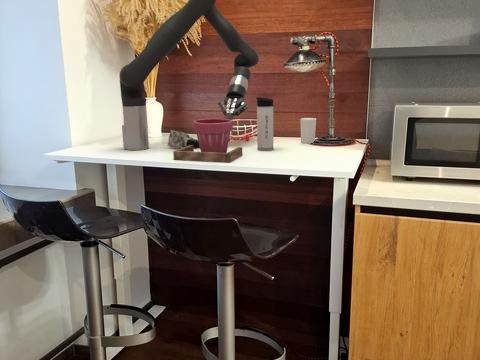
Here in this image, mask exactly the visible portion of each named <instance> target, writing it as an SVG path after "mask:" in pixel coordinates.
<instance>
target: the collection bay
mask: <svg viewBox="0 0 480 360" xmlns="http://www.w3.org/2000/svg"><path fill="white" fill-rule="evenodd" d="M194 149H195V148H194V146H193V145H189V146H186V147H182V148H181V149H175V150H174V151H173V152H172V155H173V160H174V161H191V162H193V161H194V162H210V163H211V162H212V163H225V164H227V163H232V162H233V161H235V160H237V159H239V158H241V157H243V147H242V146H238V147H236V148H233V149H232V150H230V151H227V153H216V152H201V151H194Z"/></svg>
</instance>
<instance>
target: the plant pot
mask: <svg viewBox="0 0 480 360" xmlns="http://www.w3.org/2000/svg"><path fill="white" fill-rule="evenodd" d="M233 128H234V127H233V120H230V119H225V118H201V119H196V120H194V121H193V131H194V133H196V139H197V140H198V142H199V146H200V148H199V150H200V152H216V153H228V148H229V143H230V137H231V132H232V131H233Z"/></svg>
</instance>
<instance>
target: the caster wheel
mask: <svg viewBox="0 0 480 360" xmlns="http://www.w3.org/2000/svg"><path fill="white" fill-rule="evenodd" d="M189 145H193V146H194V149H200V146H199V142H198V139H197V138H196V139H195V138H194V137H192V136H190V135H189V134H188V133H187V132H182V131H176V130H172V129H170V132H169V136H168V140H167V146H168V147H170V148H172V149H173V148H174V149H175V150H178V149H181V148H184V147H186V146H189Z"/></svg>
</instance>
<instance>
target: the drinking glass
mask: <svg viewBox="0 0 480 360" xmlns="http://www.w3.org/2000/svg"><path fill="white" fill-rule="evenodd" d="M299 122H300V144H305V145H307V144H308V145H311V143H313V142H314V141H315V142H316V130H317V129H316V128H317V127H316V126H317V118H316V117H315V118H314V117H302V118H300V121H299ZM313 144H314V143H313Z"/></svg>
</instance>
